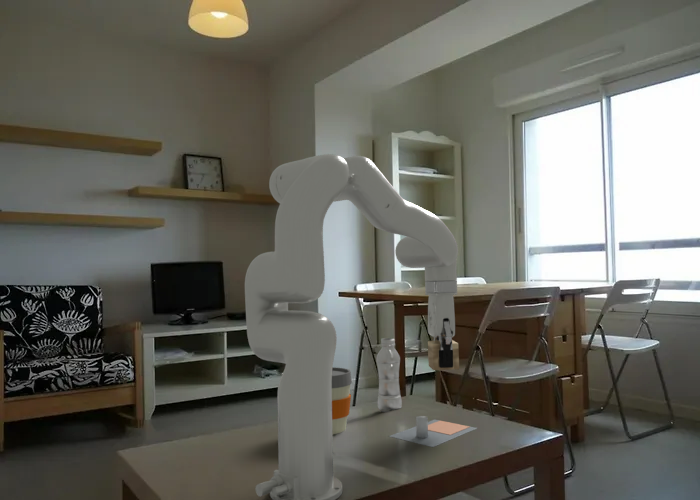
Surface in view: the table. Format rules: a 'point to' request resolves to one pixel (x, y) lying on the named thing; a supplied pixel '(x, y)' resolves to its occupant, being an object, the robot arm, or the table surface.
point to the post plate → (432, 432)
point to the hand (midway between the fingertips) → (443, 364)
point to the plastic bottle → (388, 376)
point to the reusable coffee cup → (340, 398)
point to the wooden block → (434, 355)
